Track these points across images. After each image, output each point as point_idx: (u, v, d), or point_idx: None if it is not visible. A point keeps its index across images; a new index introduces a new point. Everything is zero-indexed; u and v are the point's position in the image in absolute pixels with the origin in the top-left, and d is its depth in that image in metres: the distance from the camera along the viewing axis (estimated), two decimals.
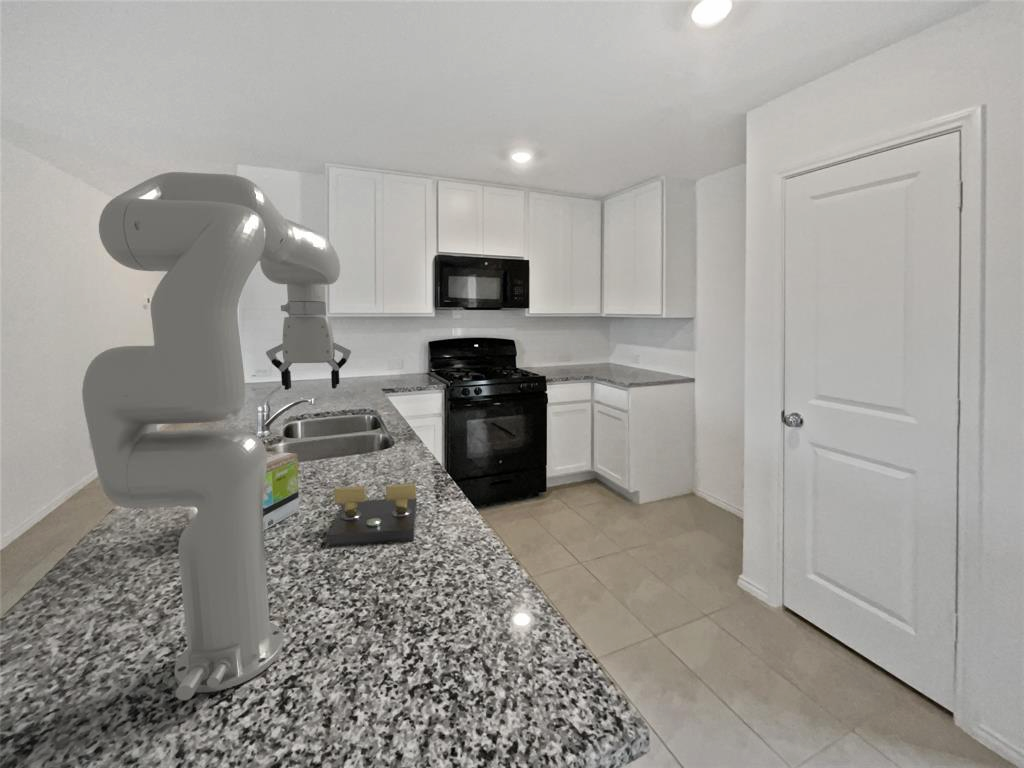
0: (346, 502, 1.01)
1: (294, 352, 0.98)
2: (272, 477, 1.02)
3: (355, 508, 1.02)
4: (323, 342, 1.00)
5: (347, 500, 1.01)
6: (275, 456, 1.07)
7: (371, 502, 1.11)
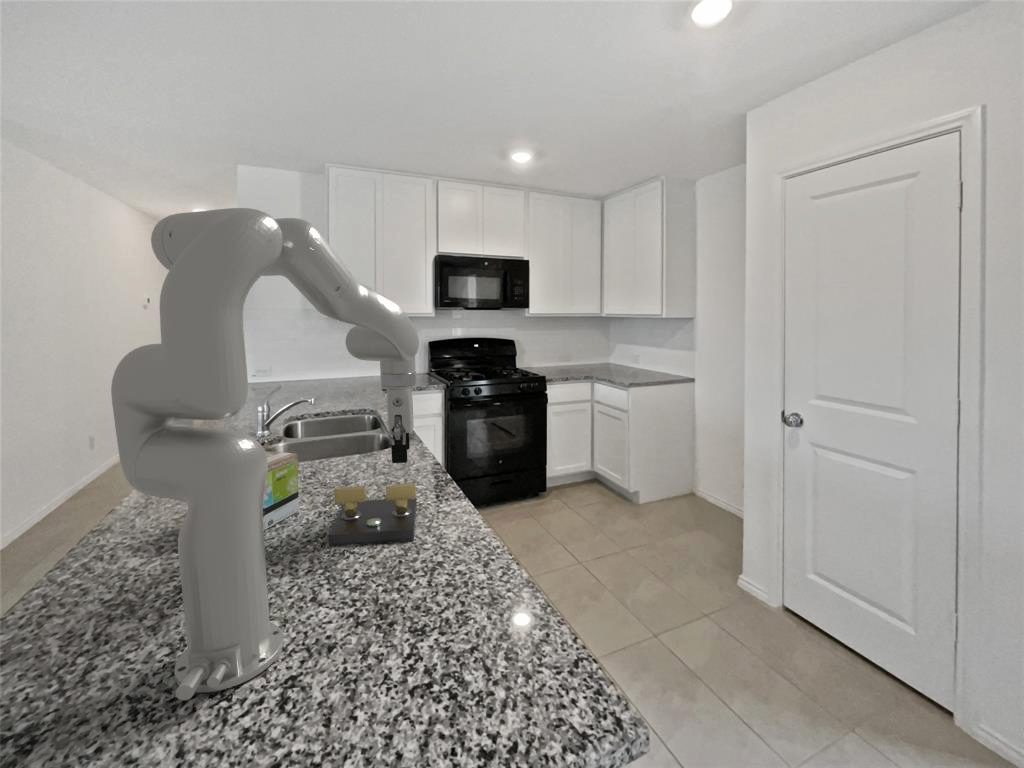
0: (346, 502, 1.01)
1: (412, 422, 1.00)
2: (272, 477, 1.02)
3: (355, 508, 1.02)
4: None
5: (347, 500, 1.01)
6: (275, 456, 1.07)
7: (371, 502, 1.11)
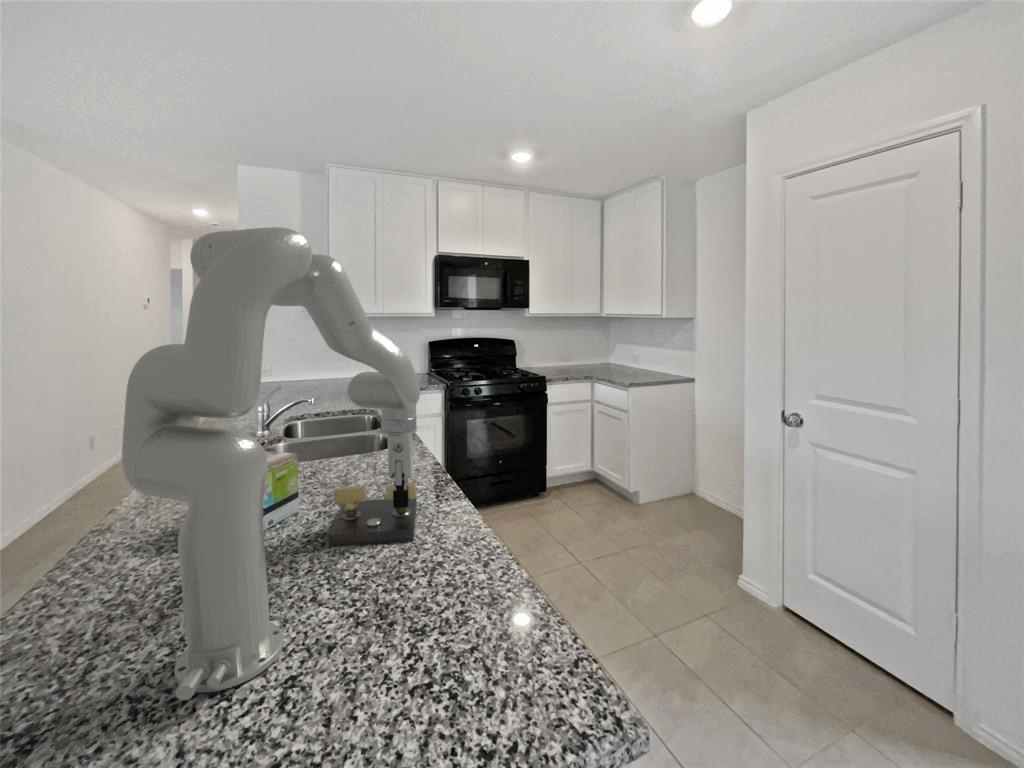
0: (346, 502, 1.01)
1: (412, 466, 1.01)
2: (272, 477, 1.02)
3: (355, 508, 1.02)
4: None
5: (347, 500, 1.01)
6: (275, 456, 1.07)
7: (371, 502, 1.11)
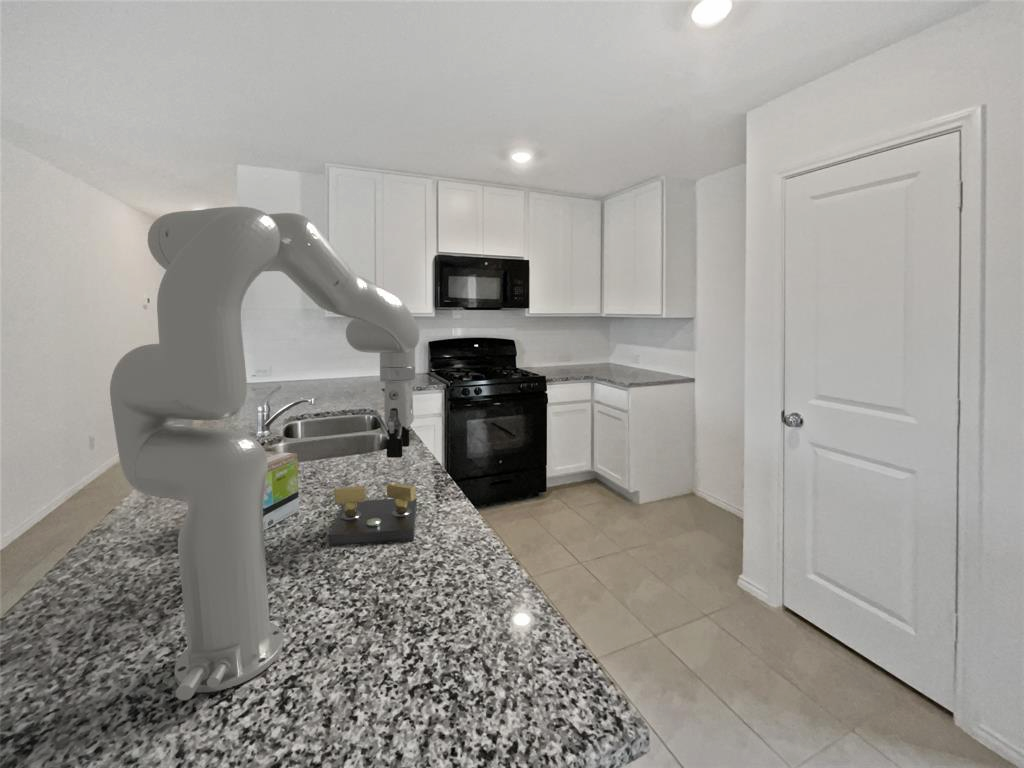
0: (346, 502, 1.01)
1: (409, 417, 0.99)
2: (272, 477, 1.02)
3: (355, 508, 1.02)
4: (412, 403, 1.05)
5: (347, 500, 1.01)
6: (275, 456, 1.07)
7: (371, 502, 1.11)
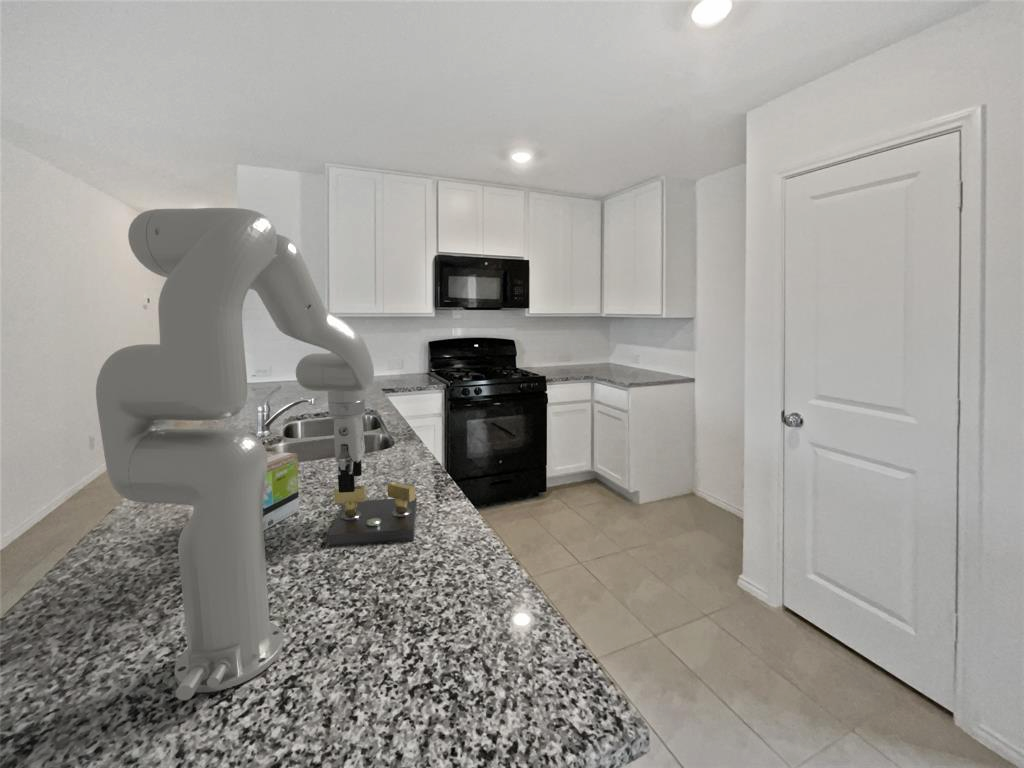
0: (346, 502, 1.01)
1: (360, 450, 0.99)
2: (272, 477, 1.02)
3: (355, 508, 1.02)
4: (363, 434, 1.05)
5: (347, 500, 1.01)
6: (275, 456, 1.07)
7: (371, 502, 1.11)
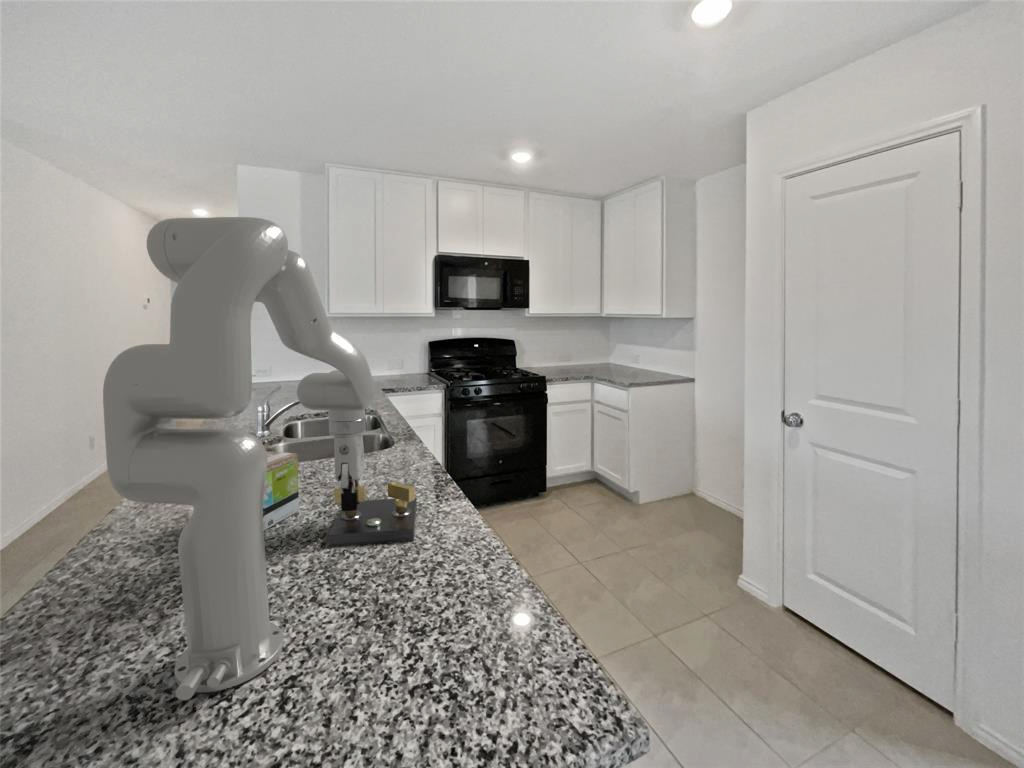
0: None
1: (360, 469, 0.99)
2: (272, 477, 1.02)
3: None
4: (363, 452, 1.05)
5: None
6: (275, 456, 1.07)
7: (371, 502, 1.11)
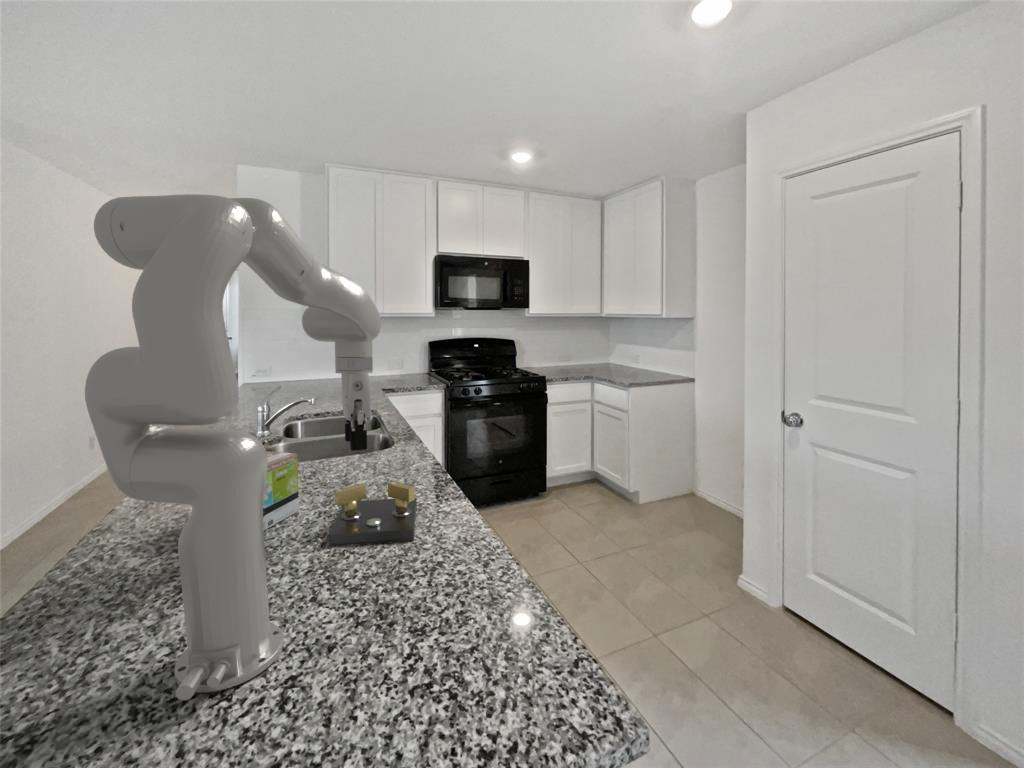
0: (349, 502, 1.01)
1: None
2: (272, 477, 1.02)
3: (356, 507, 1.03)
4: None
5: (350, 500, 1.01)
6: (275, 456, 1.07)
7: (371, 502, 1.11)
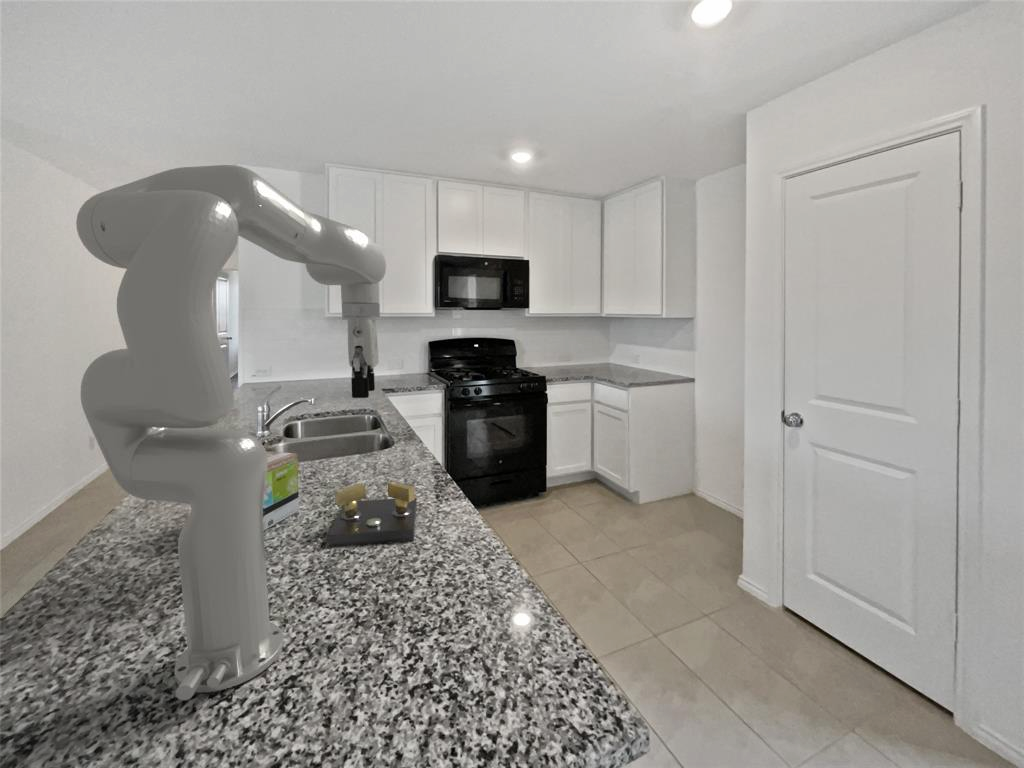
0: (349, 502, 1.01)
1: (374, 356, 0.95)
2: (272, 477, 1.02)
3: (356, 506, 1.03)
4: (377, 344, 1.00)
5: (350, 500, 1.01)
6: (275, 456, 1.07)
7: (371, 502, 1.11)
